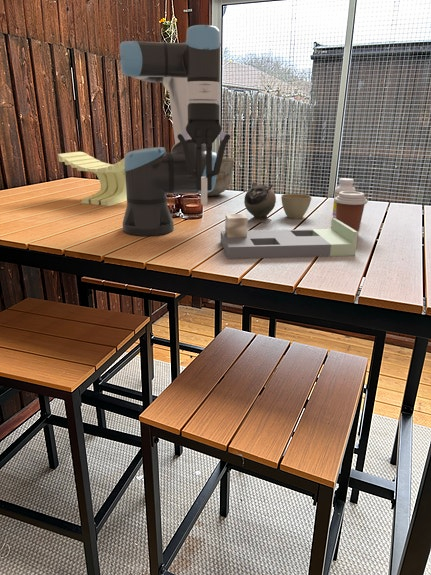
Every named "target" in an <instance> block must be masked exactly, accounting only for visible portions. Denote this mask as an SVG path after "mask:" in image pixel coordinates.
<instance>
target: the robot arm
mask: <svg viewBox="0 0 431 575" xmlns="http://www.w3.org/2000/svg"><path fill="white" fill-rule="evenodd" d="M221 47H222V43H221V34H220V30H219V28H218V27H217V26H215V25H209V24H195V25H192V26H189V27H188V28H187V29H186V40H185V42H164V41H163V42H161V41H160V42H159V41H158V42H156V41H136V40H131V41H129V40H125V41H122V42H120V43H119V54H120V56H119V57H120V67H121V68H120V69H121V73H122V75H123V76H125V77H131V78H133V79H136V80H139V81H144V82H147V83H161V84H163V87H164V89H165V90H166V92H168V96H169V103H170V104H169V105H170V112H171V113H170V114H171V121H172V128H173V138H174V139H173V140H174V145H173V146H172V147H171V151H170V152H167V151H166V148H165V147H164V146H163V147H162V146H157V147H147V148H142V149H141V148H140V149H136V150H131V151H129V152H127V153H125V156H124V158H125V168H124V171H125V177H126V194H127V201H126V208H125V211H124V216H123V218H122V219H123V220H122V231H123V232H124V233H125V234H128V235H131V236H141V237H142V236H143V237H146V236H149V237H150V236H161V235H165V234H169V233H171V232H172V231H174V224H175V222H174V219H173V217H172V214H171V211H170V207H169V206H168V195H170V194H171V195H172V194H173V195H175V194H176V195H177V194H178V195H180V194H181V195H182V194H197V193H198V194H197V195H200V193H201V195H200V204H201V206H202V205H208V196H207V192H211V191H212V190H213V189H214V186H215V182H216V176H217V175H218V174H219V171H220V167H221V163H222V159H223V158H224V153H225V150H226V147H227V146H226V145H227V144H228V142H229V140H230V139H231V135H230V134H229V133H227V132H225V131H223V130H222V125H221V122H220V103H218V102H219V101H220V76H221V75H220V74H221V73H220V71H221V70H220V68H221V63H220V62H221ZM218 137H219V140H220V142H219V146H218V150H217V152H216V151H213V144H214V142H215V141H216V139H217V138H218Z"/></svg>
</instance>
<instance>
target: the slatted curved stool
mask: <svg viewBox="0 0 431 575" xmlns="http://www.w3.org/2000/svg"><path fill="white" fill-rule="evenodd" d="M57 157H58V162H59V163H63V162H64V165H65V166H69V165H70V167H71V168H73V169H74V168H75V169H76V170H77V172H92V173H93V174H95V175H96V177H97V179H98V180H99V183H100V189H99V191H97V192H96V193H94V194H92V195H89V196H86V197H83V198H82V200H81V202H80V203H81V204H87V205H89V204H90V205H97V206H104V207H106V206H107V207H110V206H113V205H118V204H119V203H124V202H127V194H126V177H125V171H124V168H125V157H124V158H122V159H121V160H119V161H117V162H116V163H114V164H113V163H112V164H111V163H107V162H103V161H101V160H100V159H98V158H95V157H94V156H91V155H89V154H88V153H86V152H83V151H74V152H65V153H64V152H63V153H57Z"/></svg>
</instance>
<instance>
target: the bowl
mask: <svg viewBox="0 0 431 575" xmlns="http://www.w3.org/2000/svg"><path fill="white" fill-rule="evenodd" d="M234 164H235V158H225V157H223V159H222V163H221V167H220V171H219V174H218V175H217V176H216V182H215V186H214V189H213V190H212V191H211V192H207V197H212V196H216V195H220V194H222V193H224V192H225V191H226V190H227V189H228V188H229V187H230V185H231V182H232V179H233V169H234ZM200 194H201V193H200ZM200 194H199V195H200Z"/></svg>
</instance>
